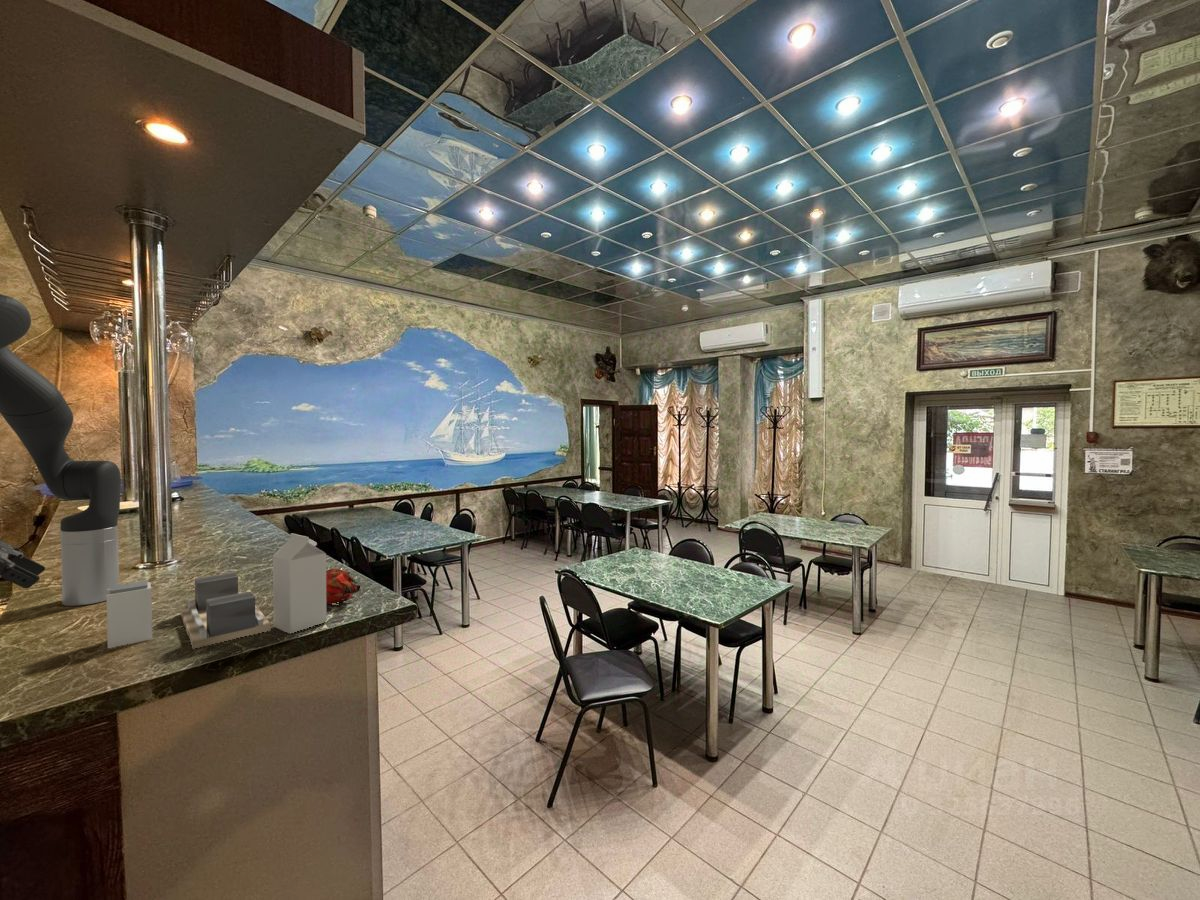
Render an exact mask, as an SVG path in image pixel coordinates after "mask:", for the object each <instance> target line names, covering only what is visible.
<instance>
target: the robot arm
mask: <svg viewBox="0 0 1200 900" xmlns="http://www.w3.org/2000/svg"><path fill="white" fill-rule="evenodd" d="M31 325H32V318H31V314H30V311H29V309H27V307H26V306H25V305H24V304H23V303H22V302H21V301H19V300H17V299H15V298H14V297H11V296H8V295H6V294H1V293H0V415H1V416H2V418H4V420H5V422H6V423H7V424H8V425H9V427H10V428H11V430H12V431H14V433H15V434H16V436H17V437H18V438H19V440H20V441H21V443H22V445H23V447H25V449H26V450H27V452H28V453H29V455H30V457H31V458H32V460H33V462H34V464H35V466H36V468H37V469H38V472H39V474H40V476H41V477H42V479H43V481H44V484H45V485H46V487H47V489H48V490H49V491H50V492H51V494H53V496H55V497H56V498H58V499H61V500H64V501H66V500H67V501H83V500H89V503H88V507H87V508H86V509H85V510H83V511H80V512H78V513H74V514H70V515H68V516H64V517H63V518H62V519H61V520H60V525H59V526H60V527H59V528H60V553H61V554H60V555H61V557H60V558H61V596H62V597H61V599H62V600H61V601H62V603H61V604H62V605H63V606H67V607H69V606H70V607H77V606H85V605H92V604H96V603H101V602H105V601H106V602H107V597H106V595H107V589H110V586H115V585H120V580H119V579H120V575H119V574H120V568H119V530H118V529H119V527H118V526H119V525H118V519H119V515H120V512H121V511H120V509H121V488H122V475H121V471H120V469H119V467H118V465H117V464H116V463H115V462H113V461H110V460H74V459H72V458H71V457H70V456H69V454H68V453H67V451H66V449H65V446H64V444H65V441H66V439H67V436H68V435H69V434H70V432H71V428H72V427H73V424H74V414H73V411H72V409H71V408H70V406H69V404H68V402H67V401H66V399H65V398H64V396H63V394H62V393H61V391H60V390H59V389H58V388H57V386H56V385H54V384H53V382H51V381H50V380H49V379H48V378H46V377H45V376H44V375H43V374H41V373H40V372H39V371H37V370H36V369H35V368H34V367H32V366H30V365H29V364H28V363H26V362H25V361H24V360H23V359H21V358H20V357H19V356H18V355H17V354H16V353H14V352H13V351H12V349H10V348H9V346H10V345H12V344H13V343H15V342H17V341H19V340H20V339H22V338H23V337H24V336H26V334H27V333H28V332H29V329H30V328H31ZM45 570H46V566H44V565H43V564H41V563H39V562H37V561H35V560H33V559H31V558H29V557H27V556H26V555H25V554H24V553H23V551H22V550H21V549H20V548H19V547H16V546H14V545H11V544H10V543H8V542H6V541H3V540H2V539H0V578H2V579H4V580H6V581H8V582H10V583H13V584H14V585H16V586H19V587H21V588H22V589H29V588H31V587H33V586H34V585H35V584H37V582H38V581H40V579H41V578H40V577H41V576H39V575H40V574H41V573H43V572H45Z"/></svg>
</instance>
